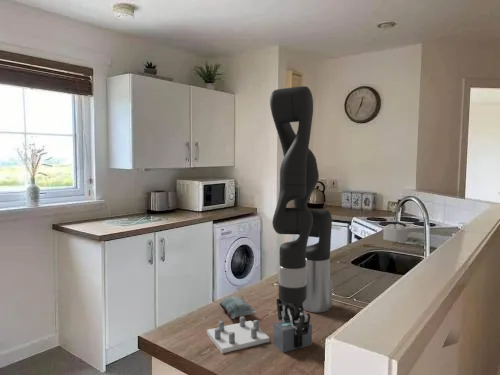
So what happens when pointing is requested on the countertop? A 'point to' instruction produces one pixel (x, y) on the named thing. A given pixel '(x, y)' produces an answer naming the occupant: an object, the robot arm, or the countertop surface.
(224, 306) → the packaged food
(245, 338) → the pegged holder plate
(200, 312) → the countertop surface
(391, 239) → the lumpy-topped squat cylinder
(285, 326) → the block
